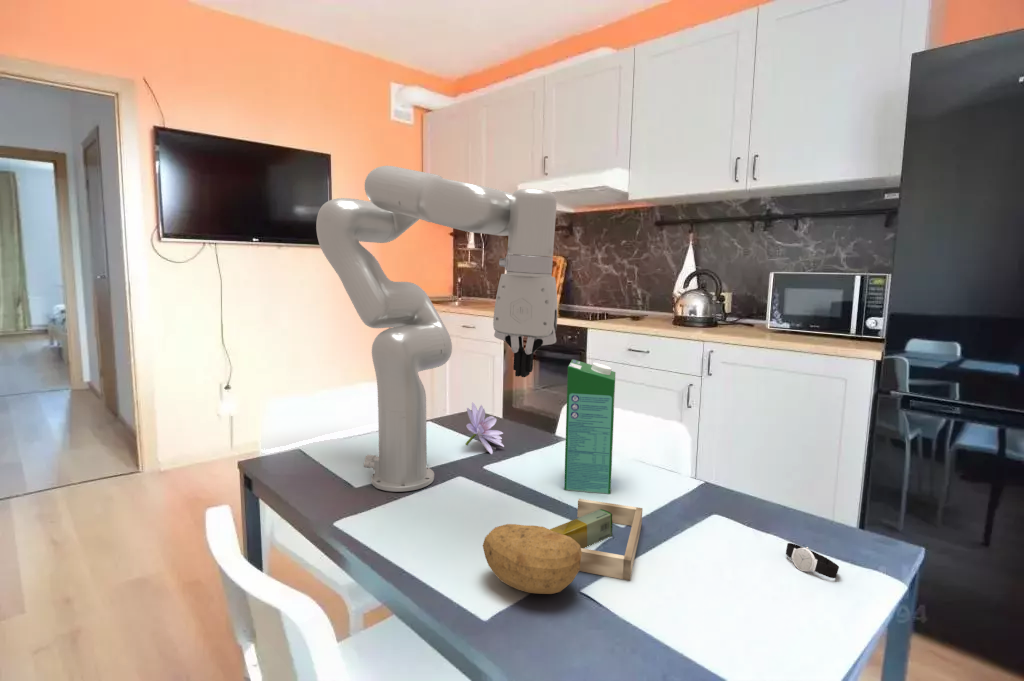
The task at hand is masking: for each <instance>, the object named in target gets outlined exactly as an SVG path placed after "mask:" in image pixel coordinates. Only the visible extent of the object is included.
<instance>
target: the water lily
mask: <svg viewBox="0 0 1024 681" xmlns="http://www.w3.org/2000/svg"><path fill="white" fill-rule="evenodd" d="M466 412H467V416H468V419H469V421H470V423H467V424H466V428H467V430H468V431H469V432H470V433H471V434H473V435H472V436H470V437H469V439H468V440H467V441H466V442H465V446H468V445H469V444H470V443H471V442H472V441H473V439H474V438H476V436H477V435H478V439H479V441H480V443H481V445H482V446H483V448H484V449H485V450H486V451H487V452H488V453H489V454H490V455H493V453H494V452H493V448H492V446H491V445H490V443H489V442H491V443H492V444H494V445H497V446H499V447H503V448H504V447H505V445H504V444H503V443H502V439H503V438H502V436H500V435H503V434H504V432H502V431H501V430H497V429H492V427H494V426H495V424H496V423H497V418H496V417H494V416H493V415H490V416H487V417H486V411H485V408H484V407H483V405H482V404H480V406H479V407H478V408H477V406H476V405H475V403H474V402H471V409H470V408H469V407H466ZM488 441H489V442H488Z"/></svg>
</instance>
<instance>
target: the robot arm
mask: <svg viewBox="0 0 1024 681" xmlns="http://www.w3.org/2000/svg"><path fill="white" fill-rule="evenodd" d="M364 191H365V195H366V197H367V198H368V200H364V199H356V198H347V197H346V198H345V197H341V198H340V197H339V198H332V199H330V200H328V201H326V202H324V204H322V205H321V207H320V209H319V210H318V213H317V216H316V223H315V224H316V227H315V229H316V236H317V240H318V244H319V248H320V249H321V251H322V254H324V257H325V259H326V260H327V262H329V264H330V266H331V267H332V268H333V270H334V271H335V273H336V274H337V276H338V278H339V279H340V282H341V284H342V285H343V287H344V289H345V292H346V293H347V295H348V297H349V300H350V301H351V304H352V305H353V307H354V309H355V311H356V313H357V314H358V316H359V319H360V320H361V321H362V322H363V324H364V325H365V326H367V327H369V328H371V329H384V330H382V331H381V332H380V333H379V334H378V335H376V337H375V338H374V340H373V342H372V345H371V357H372V364H373V366H374V372H375V377H376V379H375V380H376V385H377V386H376V387H377V388H376V389H377V407H378V410H377V412H378V413H377V414H378V455H373V454H367V455H365V458H364V462H363V467H364V468H368V469H372V470H374V471H373V473H372V475H371V478H370V479H371V485H372V486H374V487H375V488H376V489H378V490H381V491H386V492H394V493H397V492H398V493H400V492H401V493H402V492H411V491H412V492H413V491H415V490H420V489H422V488H426V487H427V486H429V485H430V484H432V483H433V482H434V479H435V472H434V470H433V469H431V468H430V467H427V465H428V464H427V458H428V457H427V450H428V449H427V448H428V446H427V394H426V389H425V387H424V384H423V382H422V379H421V378H420V375H419V372H423V371H428V370H431V369H432V370H433V369H435V368H439V367H441V366H443V365H445V364H446V363H448V361H449V360H450V358H451V355H452V352H453V343H452V339H451V335H450V334H449V330H448V329H447V327H446V325H445V324H444V322H443V320H442V318H441V316H440V315H439V313H438V311H437V309H436V307H435V305H434V303H433V302H432V300H431V299H430V297H429V295H428V294H427V292H426V291H425V290H424V289H423V288H422V287H421V286H419V285H418V284H416V283H414V282H411V281H410V282H409V281H393V280H391V279H390V278H388V277H387V275H386V274H385V271H384V270H383V268H382V267H381V265H380V263H379V261H378V260H377V258H376V257H375V256H374V255H373V253H371V251H369V250H368V249H367V248H366V247H364V246H363V245H362V244H361V243H360V242H362V243H373V244H374V243H376V244H385V243H390V242H392V241H394V240H396V239H397V238H398V237H400V236H401V235H403V234H404V233H405V232H406V231H407V230H409V229H410V228H411V227H412V226H413V225H415V224H416V223H417V222H418V221H419V220H422V221H425V222H428V223H432V224H434V225H440V226H443V227H448V228H450V229H455V230H460V231H463V232H469V233H474V234H484V235H485V234H486V235H492V236H502V237H506V236H507V237H508V241H507V242H508V243H507V254H505V255H506V256H505V257H503V258H501V257H500V259H499V261H498V265H499V267H503V268H505V272H506V273H501V274H500V279H499V281H498V286H497V292H496V296H495V303H494V310H493V320H492V326H493V330H494V334H493V336H494V338H496V339H498V340H501V341H504V342H506V344H507V345H508V346H509V347H510V348H511V352H512V353H513V366H512V369H513V371H514V376H515V377H517V378H519V377H521V378H526V377H528V376H529V375H531V373H532V371H533V369H534V368H533V366H534V355H535V352H537V350H538V349H540V348H541V347H543V346H548V345H553V344H556V343H557V337H556V331H557V327H558V292H557V289H558V288H557V282H556V277H555V276H552V275H553V274H552V273H553V262H554V260H553V259H554V246H555V245H554V244H555V230H556V218H557V216H556V215H557V197H556V195H555V193H553V192H551V191H549V190H544V189H536V188H523V189H517V190H515V191H514V192H508V191H504V190H500V189H497V188H493V187H489V186H483V185H479V184H475V183H474V184H473V183H469V182H465V181H464V182H463V181H459V180H453V179H448V178H443V177H442V176H441V175H440V174H436V173H429V172H424V171H420V170H416V169H415V170H413V169H409V168H404V167H399V166H394V165H381V166H378V167H376V168H374V169H372V170H371V171H370V172H369V173H368V174H367V176H366V178H365V180H364ZM385 328H386V329H385ZM523 337H527V339H526V344H525V347H524V339H523Z"/></svg>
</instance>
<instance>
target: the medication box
mask: <svg viewBox="0 0 1024 681" xmlns="http://www.w3.org/2000/svg"><path fill="white" fill-rule="evenodd" d="M612 516H613V515H612V513H610V512H608V511H606V510H603V509H599V510H597V511H595V512H592V513H590V514H587V515H584V516H582V517H577V518H575V519H572V520H569V521H567V522H565V523H562V524H560V525H557V526H555V527H552V528H550V529H549V530H551V531H554V532H557V533H560V534H563V535H566V536H569V537H571V538H572V539H574V540H575V541H576V542H577V543H578V544H579V545H580V547H581V548H584V549H586V548H588V547H590V546H592V544H593V545H594V543H595V544H597V543H599V541H600V542H602V541H604V540H606V539H608V537H609V538H611V537H612V536H613V523H612ZM601 540H602V541H601ZM589 545H590V546H589ZM587 546H588V547H587ZM585 547H586V548H585Z"/></svg>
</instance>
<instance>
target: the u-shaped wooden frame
mask: <svg viewBox="0 0 1024 681" xmlns="http://www.w3.org/2000/svg"><path fill="white" fill-rule="evenodd" d="M599 509H603V510H606V511H608V512H610V513H612V515H613V516H612V524H618V525H625V526H631V528H630V532H629V536H628V540H627V544H626V548H625V553H624V555H622V554H617V553H611V552H606V551H601V550H600V551H599V550H594V549H590V548H581V551H582V556H581V561H580V570H579V572H583V573H588V574H594V575H599V576H604V577H609V578H614V579H620V580H625V581H629V582H630V581H631V577H632V572H633V567H634V563H635V559H636V553H637V549H638V544H639V540H640V534H641V531H642V524H643V507H639V506H638V507H637V506H631V505H624V504H617V503H610V502H603V501H597V500H590V499H586V498H585V499H584V498H578V500H577V515H576V517H577V518H579V517H582V516H584V515H587V514H590V513H592V512H595V511H597V510H599Z"/></svg>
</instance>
